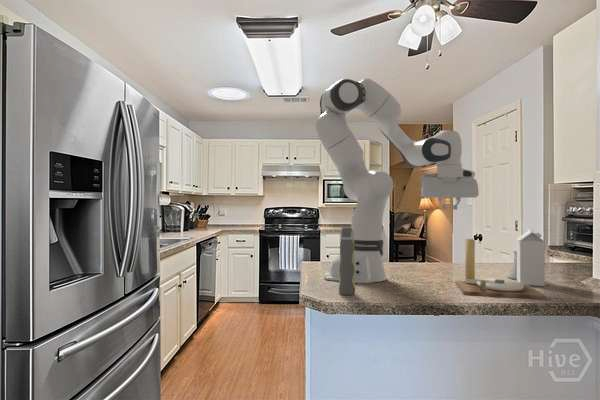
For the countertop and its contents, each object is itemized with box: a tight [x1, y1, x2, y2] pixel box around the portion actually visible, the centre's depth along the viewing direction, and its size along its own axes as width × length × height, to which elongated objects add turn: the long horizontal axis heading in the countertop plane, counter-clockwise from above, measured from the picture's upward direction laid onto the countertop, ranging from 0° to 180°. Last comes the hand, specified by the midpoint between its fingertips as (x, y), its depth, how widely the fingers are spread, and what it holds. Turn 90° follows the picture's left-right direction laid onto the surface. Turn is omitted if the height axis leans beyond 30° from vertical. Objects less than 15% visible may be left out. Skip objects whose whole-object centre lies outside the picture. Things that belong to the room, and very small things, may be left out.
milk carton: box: [516, 227, 546, 287], centre depth 128 cm, size 7×7×19 cm
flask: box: [506, 250, 517, 281], centre depth 137 cm, size 7×7×10 cm
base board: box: [454, 280, 547, 300], centre depth 117 cm, size 22×16×4 cm
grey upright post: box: [338, 226, 356, 296], centre depth 112 cm, size 5×5×20 cm
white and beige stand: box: [464, 238, 524, 291], centre depth 119 cm, size 17×13×14 cm
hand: (449, 209), depth 142 cm, fingers open, 3 cm apart
